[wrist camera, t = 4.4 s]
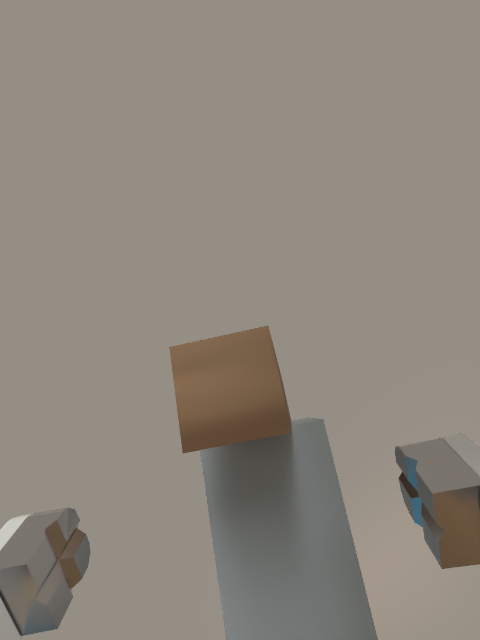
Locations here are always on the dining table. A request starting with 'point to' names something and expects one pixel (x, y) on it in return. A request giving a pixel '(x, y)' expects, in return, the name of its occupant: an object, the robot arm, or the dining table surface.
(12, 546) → the robot arm
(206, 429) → the walnut block
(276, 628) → the slate stand
